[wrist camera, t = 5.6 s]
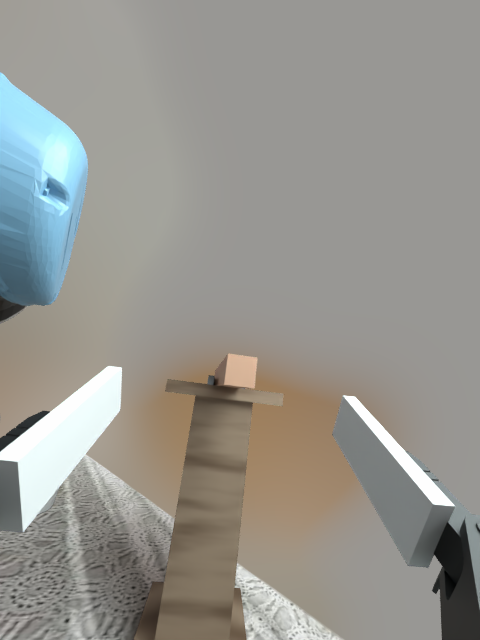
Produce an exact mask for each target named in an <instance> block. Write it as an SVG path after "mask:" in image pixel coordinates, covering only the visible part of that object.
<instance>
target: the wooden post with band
mask: <svg viewBox="0 0 480 640" xmlns="http://www.w3.org/2000/svg"><path fill="white" fill-rule="evenodd" d="M214 383H215V376H210V375H209V378H208V384H202V383H194V382H186V381H178V380H170V379H168V380H167V385H166V390H165V391H166V392H174V393H182V394H190V395H196V397H195V403H194V408H193V414H192V420H191V426H190V432H189V438H188V444H187V450H186V456H185V462H184V468H183V474H182V480H181V486H180V492H179V498H178V504H177V510H176V516H175V522H174V528H173V533H172V539H171V545H170V551H169V557H168V563H167V569H166V575H165V581H164V582H153V583H152V586H151V589H150V592H149V595H148V598H147V601H146V604H145V607H144V610H143V613H142V616H141V619H140V622H139V625H138V628H137V631H136V634H135V637H134V640H246V631H245V623H244V615H243V606H242V598H241V590H240V588H234V587H235V576H236V566H237V556H238V545H239V535H240V524H241V516H242V505H243V504H242V503H243V495H244V485H245V475H246V464H247V455H248V445H249V434H250V424H251V414H252V404H253V402H254V403H262V404H271V405H279V406H283V394H280V393H272V392H265V391H257V390H249V389H245V388H233V387H225V386H217V385H214Z"/></svg>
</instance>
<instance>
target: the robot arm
mask: <svg viewBox="0 0 480 640" xmlns="http://www.w3.org/2000/svg"><path fill="white" fill-rule="evenodd" d="M87 174H88V162H87V156H86V153H85V150H84V148H83V146H82V144H81V142H80V140H79V139H78V137H77V136H76V135H75V133H74V132H73V131H72V130H71V129H70V128H69V127H68V126H67V125H66V124H65V123H64V122H62V121H61V120H60V119H58V118H57V117H55V116H54V115H53V114H52V113H50V112H49V111H48V110H46V109H45V108H43V107H42V106H41V105H39V104H38V103H37V102H35V101H34V100H33V99H31V98H30V97H29V96H27V95H26V94H24V93H23V92H22V91H20V90H19V89H18V88H16V87H15V86H14V85H12V84H11V83H10V82H9V81H8V79H7V78H6V77H5V75H3V74H2V73H0V323H3V322H5V321H7V320H9V319H11V318H13V317H15V316H16V315H17V314H19V313H20V312H22V311H23V310H24V309H25V308H26V307H27V306H30V305H34V304H35V305H42V306H44V305H49V304H51V303H52V302H54V301H55V300H56V298H57V296H58V294H59V291H60V289H61V286H62V283H63V280H64V277H65V273H66V270H67V267H68V263H69V260H70V255H71V251H72V247H73V243H74V238H75V236H76V232H77V228H78V224H79V219H80V215H81V210H82V205H83V200H84V194H85V189H86V181H87ZM121 379H122V368H120V367H112V366H108V367H107V368H105V369H104V370H103V371H101V372H100V373H99V374H98V375H97V376H95V377H94V378H93V379H91V380H90V381H89V382H88V383H86V384H85V385H84V386H83V387H81V388H80V389H79V390H77V391H76V392H75V393H74V394H73V395H71V396H70V397H69V398H67V399H66V400H65V401H64V402H62V403H61V404H60V405H59V406H57V407H56V408H55V409H54V410H52V411H51V412H49V411H42V412H40V413H38V414H35V415H33V416H31V417H29V418H27V419H26V420H24V421H23V422H22V423H21V424H19V425H18V426H17V427H16V428H14V429H12V430H11V431H9V432H8V433H7V434H6V436H3V437H1V438H0V531H12V532H24V531H25V529H26V528H27V527H28V526H29V524H30V523H31V522H32V521H33V519H34V518H35V517H36V516H37V514H38V513H39V512H40V510H41V509H42V508H43V507H44V505H45V504H46V503H47V502H48V500H49V499H50V498H51V497H52V495H53V494H54V493H55V492H56V490H57V489H58V488H59V487H60V485H61V484H62V483H63V482H64V480H65V479H66V478H67V477H68V475H69V474H70V473H71V471H72V470H73V469H74V468H75V466H76V465H77V464H78V463H79V461H80V460H81V459H82V458H83V456H84V455H85V454H86V453H87V451H88V450H89V448H91V446H92V445H93V444H94V443H95V441H96V440H97V439H98V437H99V436H100V435H101V434H102V432H103V431H104V430H105V429H106V427H107V426H108V425H109V423H110V422H111V421H112V420H113V419H114V417H115V416H116V415H117V414H118V412H119V411H120V405H121V404H120V403H121ZM332 435H333V437H334V439H335V440H336V442H337V444H338V445H339V447H340V449H341V451H342V452H343V454H344V456H345V458H346V459H347V461H348V463H349V465H350V466H351V468H352V470H353V471H354V473H355V475H356V477H357V478H358V480H359V482H360V484H361V485H362V487H363V489H364V491H365V492H366V494H367V496H368V498H369V499H370V501H371V503H372V504H373V506H374V508H375V510H376V511H377V513H378V515H379V517H380V518H381V520H382V522H383V524H384V525H385V527H386V529H387V530H388V532H389V534H390V536H391V538H392V539H393V541H394V543H395V544H396V546H397V548H398V549H399V551H400V553H401V555H402V556H403V558H404V560H405V562H406V563H407V565H408V566H416V567H426V568H428V567H429V565H430V562H431V560H432V558H433V556H434V555H435V556H436V558H437V559H438V561H439V562H440V563H441V565H442V566H443V567H442V569H441V571H440V573H439V575H438V578H437V580H436V582H435V584H434V587H433V590H432V591H433V592H434V593H435V594H436V593H437V591H438V589H440V601H441V624H442V625H441V626H442V640H480V516H478V515H474V514H471V513H470V512H469V511H468V510H467V509H466V508H465V507H464V506H463V505H462V504H461V503H460V502H459V501H458V500H457V499H456V498H455V496H454V495H453V494H452V493H451V492H450V491H449V490H448V489H447V488H446V487H445V486H444V485H443V484H442V483H441V482H439V481H438V479H437V478H436V476H435V475H434V474H433V473H431V472H430V470H429V469H428V468H427V467H426V466H425V465H424V464H423V463H422V462H421V461H420V460H419V459H417V458H416V457H414V456H413V455H412V454H411V453H409V452H408V451H404V450H403V449H402V448H401V447H400V446H399V444H398V443H397V442H396V441H395V440H394V439H393V438H392V437H391V436H390V435H389V434H388V433H387V431H386V430H385V429H384V428H383V427H382V426H381V425H380V424H379V423H378V421H377V420H376V419H375V418H374V417H373V416H372V415H371V414H370V413H369V412H368V411H367V409H366V408H365V407H364V406H363V405H362V404H361V403H360V402H359V401H358V400H357V399H356V397H351V396H343V397H342V401H341V405H340V408H339V412H338V415H337V419H336V423H335V427H334V430H333V434H332Z"/></svg>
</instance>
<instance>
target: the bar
mask: <svg viewBox="0 0 480 640" xmlns="http://www.w3.org/2000/svg"><path fill="white" fill-rule="evenodd" d="M256 367H257V358H256V357H249V356H242V355H234V354H228V355H227V356H226V357H225V359H224V360H223V361H222V362H221V364H220V365H219V367H218V368H217V369H216V370H215V383H214V385H217V386H225V387H233V388H254V387H255V377H256Z"/></svg>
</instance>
